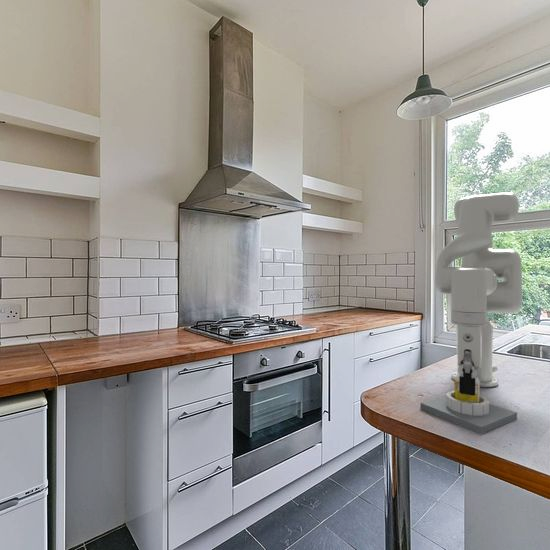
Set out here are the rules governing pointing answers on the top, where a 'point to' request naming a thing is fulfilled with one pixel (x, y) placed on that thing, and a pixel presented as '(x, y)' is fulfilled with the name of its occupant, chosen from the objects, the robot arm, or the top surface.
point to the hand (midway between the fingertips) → (467, 387)
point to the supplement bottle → (464, 396)
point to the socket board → (469, 419)
